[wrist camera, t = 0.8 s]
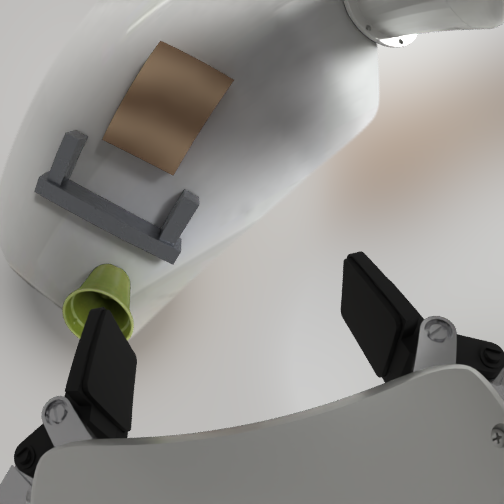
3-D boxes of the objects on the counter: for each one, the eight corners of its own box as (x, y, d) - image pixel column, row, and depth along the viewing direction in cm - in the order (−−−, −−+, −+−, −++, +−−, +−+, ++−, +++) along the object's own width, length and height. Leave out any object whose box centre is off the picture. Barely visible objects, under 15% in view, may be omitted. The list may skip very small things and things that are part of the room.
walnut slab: (164, 47, 25) (160, 40, 22) (229, 82, 29) (234, 80, 26) (111, 135, 29) (102, 139, 26) (175, 167, 33) (173, 175, 29)
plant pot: (70, 263, 35) (48, 301, 28) (124, 243, 36) (109, 280, 28) (100, 312, 40) (88, 353, 33) (151, 297, 40) (146, 339, 33)
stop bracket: (69, 126, 27) (57, 129, 24) (205, 200, 35) (206, 210, 32) (46, 183, 29) (34, 191, 26) (174, 250, 38) (173, 264, 35)
